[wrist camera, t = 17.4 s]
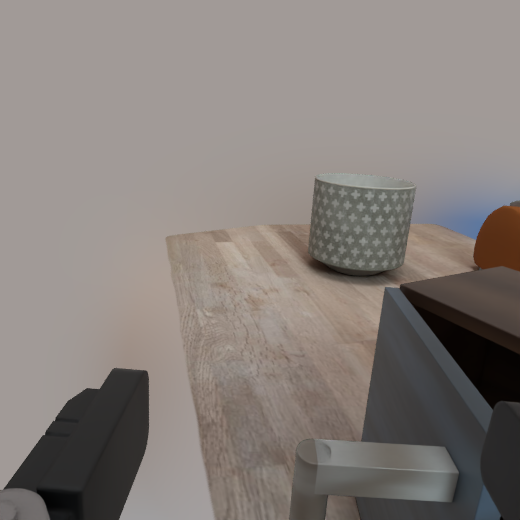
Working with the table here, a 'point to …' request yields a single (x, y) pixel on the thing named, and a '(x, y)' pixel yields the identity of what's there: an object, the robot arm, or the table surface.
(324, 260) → the planter
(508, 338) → the cupboard
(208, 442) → the table surface
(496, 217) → the orange toaster
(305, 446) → the door
